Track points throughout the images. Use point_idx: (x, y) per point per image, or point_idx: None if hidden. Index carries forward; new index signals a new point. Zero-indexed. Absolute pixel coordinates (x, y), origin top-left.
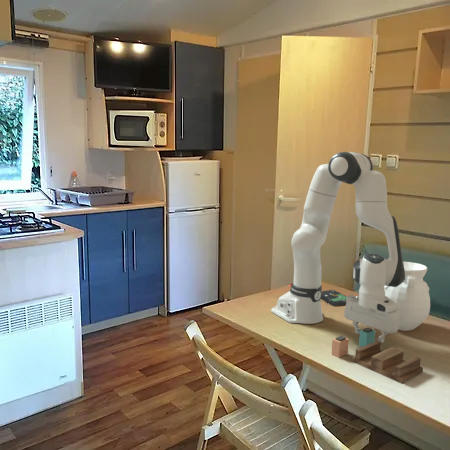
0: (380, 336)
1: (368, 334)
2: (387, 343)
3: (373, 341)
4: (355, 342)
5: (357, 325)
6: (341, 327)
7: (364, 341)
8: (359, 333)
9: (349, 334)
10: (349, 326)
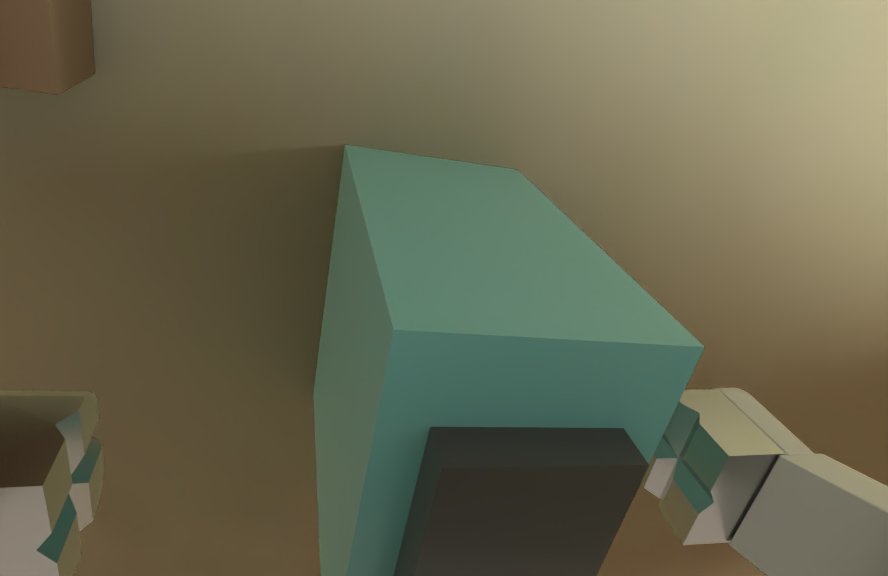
0: (9, 550)
1: (369, 379)
2: (188, 563)
3: (318, 414)
4: (608, 237)
5: (821, 568)
6: None
7: (417, 198)
8: None
9: None
10: None
